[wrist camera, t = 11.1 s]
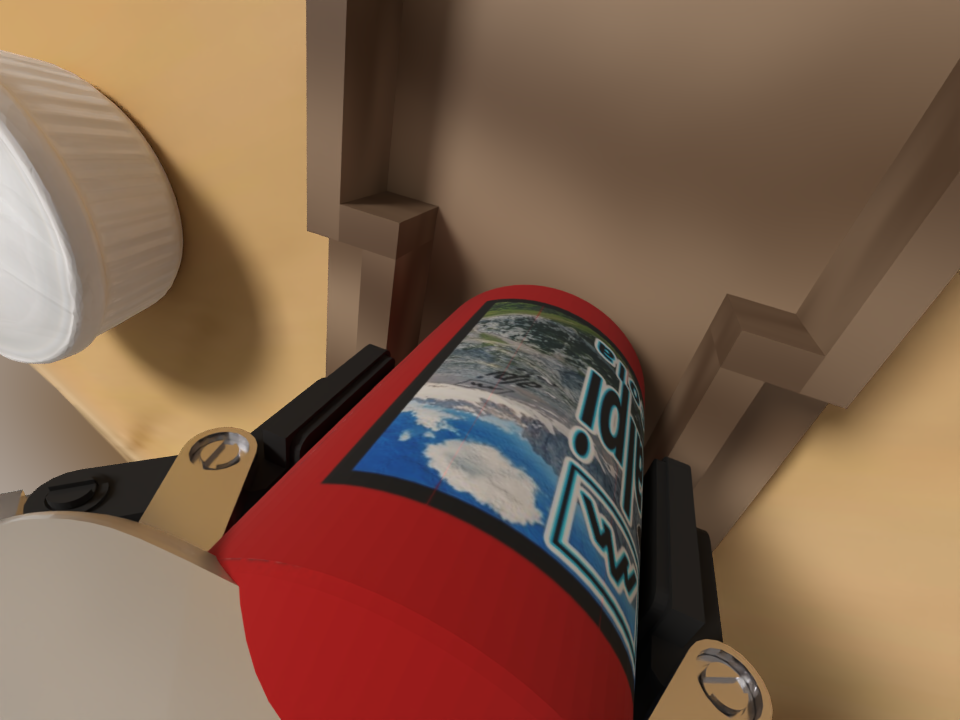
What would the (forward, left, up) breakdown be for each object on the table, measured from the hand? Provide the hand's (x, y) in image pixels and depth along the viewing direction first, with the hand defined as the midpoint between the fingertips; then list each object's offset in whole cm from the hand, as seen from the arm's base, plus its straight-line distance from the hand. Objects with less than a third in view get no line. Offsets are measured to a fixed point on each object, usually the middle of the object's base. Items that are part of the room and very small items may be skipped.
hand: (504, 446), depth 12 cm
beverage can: (0, 0, -4) cm, 4 cm away
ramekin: (+20, 0, -5) cm, 21 cm away
